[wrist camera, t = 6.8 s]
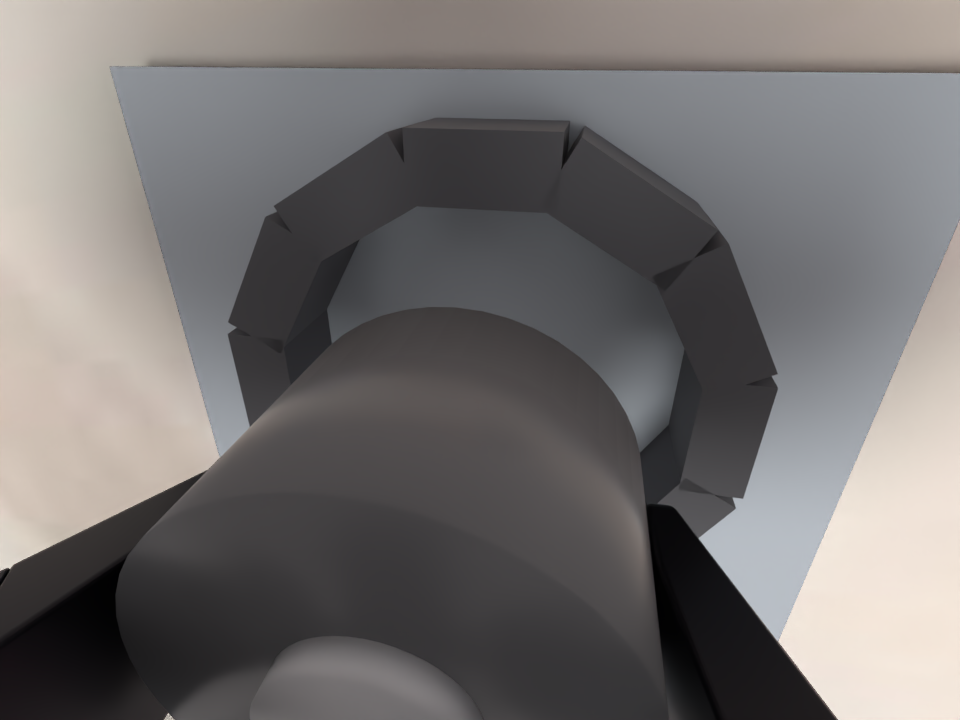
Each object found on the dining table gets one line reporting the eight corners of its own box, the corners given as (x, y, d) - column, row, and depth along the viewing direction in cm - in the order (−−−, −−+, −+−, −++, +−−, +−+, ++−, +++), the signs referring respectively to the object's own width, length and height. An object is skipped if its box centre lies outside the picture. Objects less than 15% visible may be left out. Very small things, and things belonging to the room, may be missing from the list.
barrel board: (292, 644, 21) (250, 724, 19) (145, 66, 12) (16, 65, 9) (720, 728, 19) (740, 835, 16) (981, 73, 9) (1134, 75, 6)
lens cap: (319, 565, 11) (174, 821, 7) (266, 291, 8) (-17, 480, 4) (615, 615, 10) (627, 942, 6) (671, 324, 7) (753, 602, 3)
